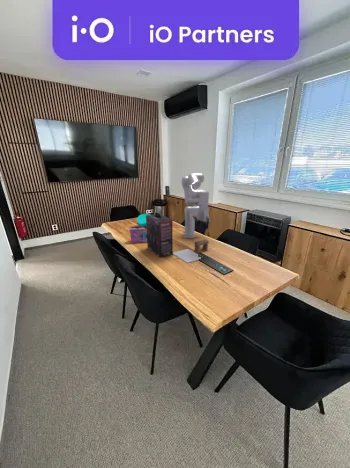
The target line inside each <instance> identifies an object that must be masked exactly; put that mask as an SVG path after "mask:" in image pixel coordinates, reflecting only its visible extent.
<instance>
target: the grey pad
mask: <svg viewBox="0 0 350 468" xmlns="http://www.w3.org/2000/svg"><path fill="white" fill-rule="evenodd" d="M172 255H174V256H175V257H177V258H179V260H182V261H183V262H185V263H186V264H190V263H193V262H196V261H200V260H202V259H201V257H198V255H199V254H198V253H197V252H194V251H193V250H191V249H188V248H185V249H182V250H178V251H174V252H173V254H172ZM199 259H200V260H199Z"/></svg>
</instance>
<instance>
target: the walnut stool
mask: <svg viewBox="0 0 350 468" xmlns="http://www.w3.org/2000/svg"><path fill="white" fill-rule="evenodd" d="M209 243H210V242H209V240H207V239H200V240H196V241H194V243H193V244H194V251H195V252H196V253H200V246H202V249H204V250H206V251H207V250H208V249H209V245H208V244H209Z"/></svg>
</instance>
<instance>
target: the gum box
mask: <svg viewBox="0 0 350 468" xmlns="http://www.w3.org/2000/svg"><path fill="white" fill-rule="evenodd" d="M128 232H129V234H130V241H131V244H137V243H138V244H139V243H147V226H142V227H141V226H130V227H129V230H128Z"/></svg>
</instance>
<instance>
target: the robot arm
mask: <svg viewBox="0 0 350 468" xmlns="http://www.w3.org/2000/svg"><path fill="white" fill-rule="evenodd" d="M204 181H205V175H204V174H203V173H201V172H191V173H189V174H188V175H186V176H183V177H182V178H181V185H182V189H183V191H184V192H183V193H184V201H185V204H186V205H187V206H186V207H184V209H183V210H184V219H185V220H184V231H182V232H183V235H182V236H183V237H184V238H185V239H195V238H196V237H197V236H196V234H195V228H196V227H195V223H196V226H197V227H200V226H201V222H204V223H205V224H204V229H205V230H206V229H209V224H210V223H211V218H210V213H209V212H210V211H209V198H210V196H209V195H210V193H209V192H210V191H207V189H200V187H201V185H202V183H203V182H204ZM194 216H195V217H194ZM195 221H196V222H195Z"/></svg>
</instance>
